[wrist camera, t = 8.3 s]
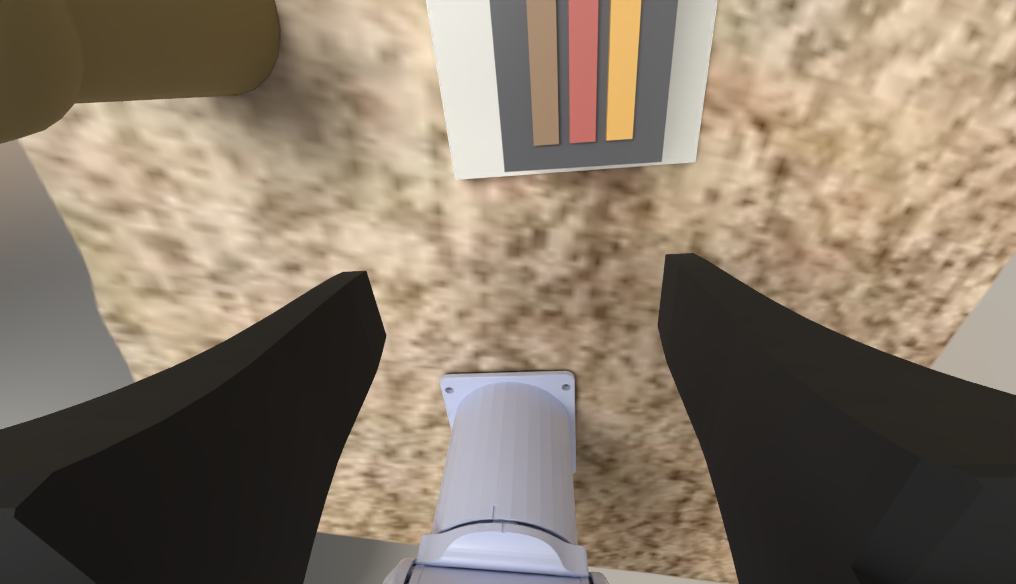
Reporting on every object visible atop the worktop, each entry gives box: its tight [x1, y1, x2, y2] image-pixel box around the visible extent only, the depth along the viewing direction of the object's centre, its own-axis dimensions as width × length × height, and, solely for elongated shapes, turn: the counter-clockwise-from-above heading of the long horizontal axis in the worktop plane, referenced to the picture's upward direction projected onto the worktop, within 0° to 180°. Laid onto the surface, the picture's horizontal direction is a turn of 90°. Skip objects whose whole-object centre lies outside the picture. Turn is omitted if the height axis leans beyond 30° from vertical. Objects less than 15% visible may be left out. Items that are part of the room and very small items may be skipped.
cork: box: [0, 0, 280, 144], centre depth 12 cm, size 6×6×11 cm
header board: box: [426, 0, 718, 180], centre depth 15 cm, size 12×10×4 cm
